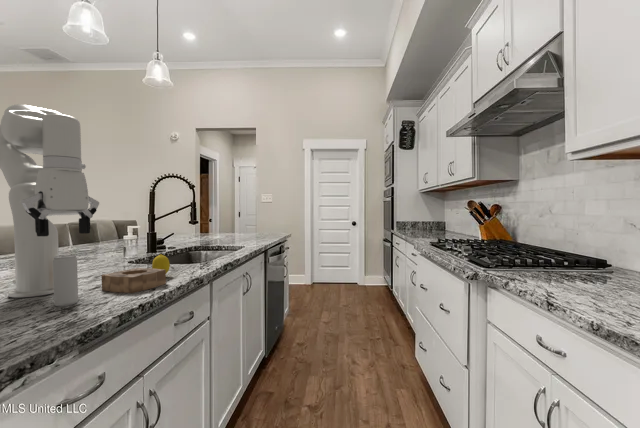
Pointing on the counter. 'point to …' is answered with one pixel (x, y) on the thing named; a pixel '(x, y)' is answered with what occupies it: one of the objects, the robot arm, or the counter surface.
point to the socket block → (133, 280)
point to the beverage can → (65, 280)
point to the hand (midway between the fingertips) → (64, 234)
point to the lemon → (161, 263)
